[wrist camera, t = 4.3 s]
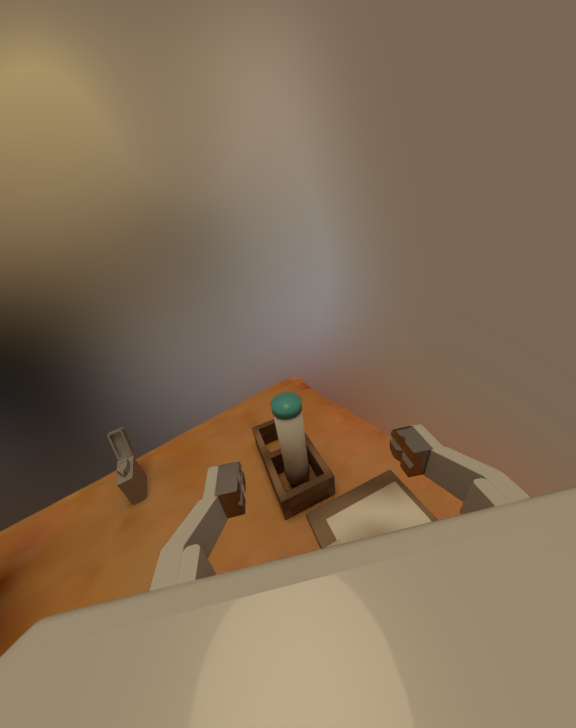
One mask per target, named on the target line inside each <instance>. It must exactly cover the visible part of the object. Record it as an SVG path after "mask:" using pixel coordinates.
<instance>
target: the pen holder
mask: <svg viewBox="0 0 576 728" xmlns="http://www.w3.org/2000/svg"><path fill="white" fill-rule="evenodd" d="M252 430H253V433H254V437H255V440H256V444H257V447H258V449H259V452H260V454H261V457H262V460H263V462H264V465H265V468H266V470H267V473H268V475H269V478H270V481H271V483H272V486H273V489H274V491H275V494H276V497H277V499H278V502H279V504H280V507H281V510H282V512H283V515H284V518H285V520H286V519H288V518H290V517H292V516H293V515H295V514H297V513H299V512H301V511H303V510H305V509H307V508H309V507H311V506H313V505H315V504H316V503H318V502H320V501H322V500H324V499H326V498H328V497H330V496H332V495H334V494H335V484H334V475H333V473H332V472H331V470H330V469H329V468H328V466H327V465H326V463H325V462H324V460H323V459H322V457H321V456H320V454H319V453H318V451H317V450H316V448H315V447H314V445H313V444H312V442H311V441H310V439H309V438H308V436H307V435H306V433H305V440H306V448H307V456H308V462H309V464H310V465H311V467H312V469H313V470H314V472H315V474H316V475H317V477H316V478H314V479H312V480H310V481H308V482H305V483H303V484H301V485H299V486H297V487H295V488H293V489H291V490H289V491H287V492H285V491H284V488H283V486H282V484H281V481H280V479H279V477H278V474H279V473H281V472H283V471H285V469H284V464H283V459H282V454H281V449H279V450H276V451H274V452H272V453H268V451H267V448H266V446H265V444H267V443H269V442H272V441H274V440H277V439H278V435H277V430H276V425H275V420H274V419H273V420H271V421H268V422H266V423H263V424H260V425H258V426H255V427H253V428H252Z"/></svg>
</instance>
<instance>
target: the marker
mask: <svg viewBox="0 0 576 728" xmlns="http://www.w3.org/2000/svg"><path fill="white" fill-rule="evenodd" d="M271 408H272V413H273V415H274V420H275V425H276V430H277V435H278V440H279V445H280V449H281V454H282V459H283V464H284V469H285V474H286V478H287V480H288V481H289V482H290V483H291V484H292V485H294V487H297V486H299V485H301V484H303V483H305V482H306V481H307V479H308V478H309V464H308V456H307V448H306V440H305V432H304V424H303V416H302V404H301V398H300V396H299V395H297V394H295V393H291V392H285V393H281V394H278V395H276V396H275V397H274V398H273V399H272V400H271Z"/></svg>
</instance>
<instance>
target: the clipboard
mask: <svg viewBox="0 0 576 728" xmlns="http://www.w3.org/2000/svg"><path fill="white" fill-rule="evenodd" d="M306 517H307V519H308V521H309V523H310V526H311V528H312V530H313V532H314V534H315V536H316V539H317V541H318V543H319V545H320V547H321V549H323V548H327V547H331V546H335V545H339V544H343V543H347V542H352V541H356V540H360V539H364V538H368V537H372V536H376V535H380V534H384V533H388V532H392V531H396V530H400V529H405V528H409V527H413V526H417V525H421V524H425V523H429V522H433V521H437V519H436V518H435V516H434V515H433V514H432V513H431V512H430V511H429V510H428V509H427V508H426V507H425V506H424V505H423V504H422V503H421V502H420V501H419V500H418V499H417V497H416V496H415V495H414V494H413V493H412V492H411V491H410V490H409V489H408V488H407V487H406V486H405V485H404V484H403V483H402V482H401V481H400V480H399V479H398V477H397V476H396V475H395V474H394V473H393V472H392V471H391V470H388V471H386V472H385V473H383V474H381V475H379V476H377V477H375V478H373V479H371V480H369V481H368V482H366V483H364V484H362V485H360V486H358V487H356V488H354V489H352V490H351V491H349V492H347V493H345V494H343V495H341V496H339V497H337V498H335V499H334V500H332V501H330V502H328V503H326V504H324V505H322V506H320V507H318V508H317V509H315V510H313V511H311V512H309V513H307V514H306Z"/></svg>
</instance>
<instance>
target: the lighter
mask: <svg viewBox="0 0 576 728" xmlns="http://www.w3.org/2000/svg"><path fill="white" fill-rule="evenodd" d="M107 437H108V439H109V441H110V443H111V445H112V448H113V450H114V452H115V454H116V457H117V459H118V461H119V462H118V464H117V473H118V477H117V485H118V487H119V488H120V489H121V490H122V492H123V493H124V494H125V495H126V497H127V498H128V499H129V500H130V502H131V503H132V504H136V503H138V502H140V501H142V500H144V499H146V497H147V479H146V474H145V473H144V471H143V470H142V469H141V467H140V466H139V464H138V463H137V461H136V460H135V459H134V457H133V456H132V455H133V454H134V452H135V451H134V449H133V447H132V444H131V442H130V440H129V438H128V435H127V433H126V431H125V429H124V428H123V427H122V428H119V429H117V430H114V431H112V432H110V433H109V434H108V435H107Z"/></svg>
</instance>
